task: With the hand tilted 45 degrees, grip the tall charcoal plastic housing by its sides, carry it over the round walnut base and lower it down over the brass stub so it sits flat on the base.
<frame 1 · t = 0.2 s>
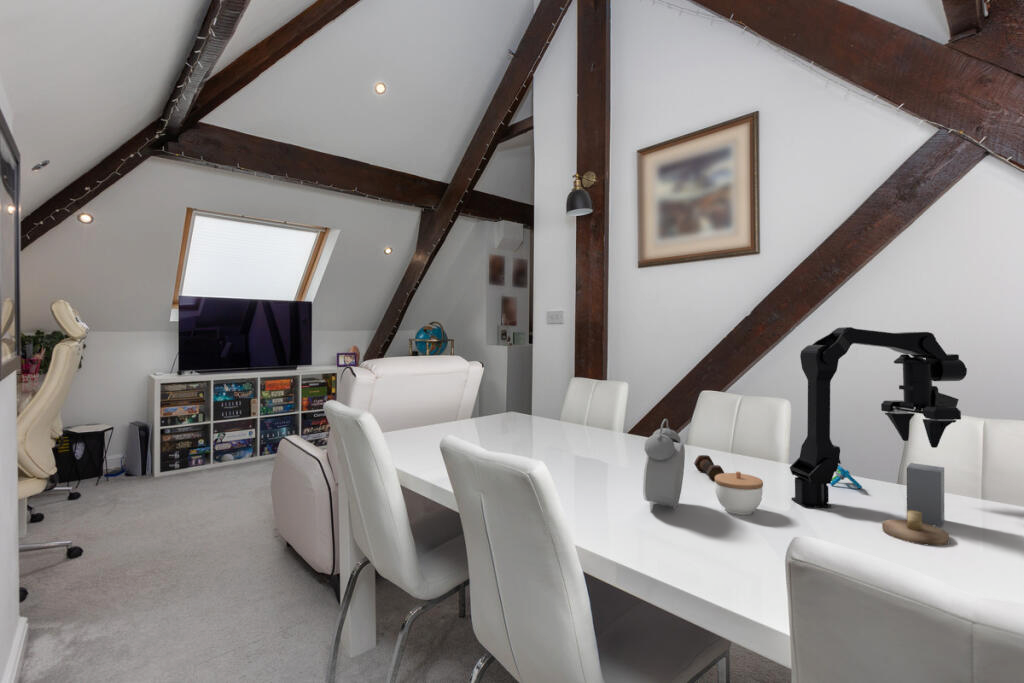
hand: (919, 444, 127), 15 cm above the table, tool pointing down, fingers open, 9 cm apart
blue thin-armed part: (844, 487, 141), on the table
lidded jar: (738, 511, 122), on the table
stub base: (914, 534, 107), on the table
housing: (925, 520, 115), on the table
alarm clock: (664, 508, 125), on the table
bolt: (711, 478, 151), on the table
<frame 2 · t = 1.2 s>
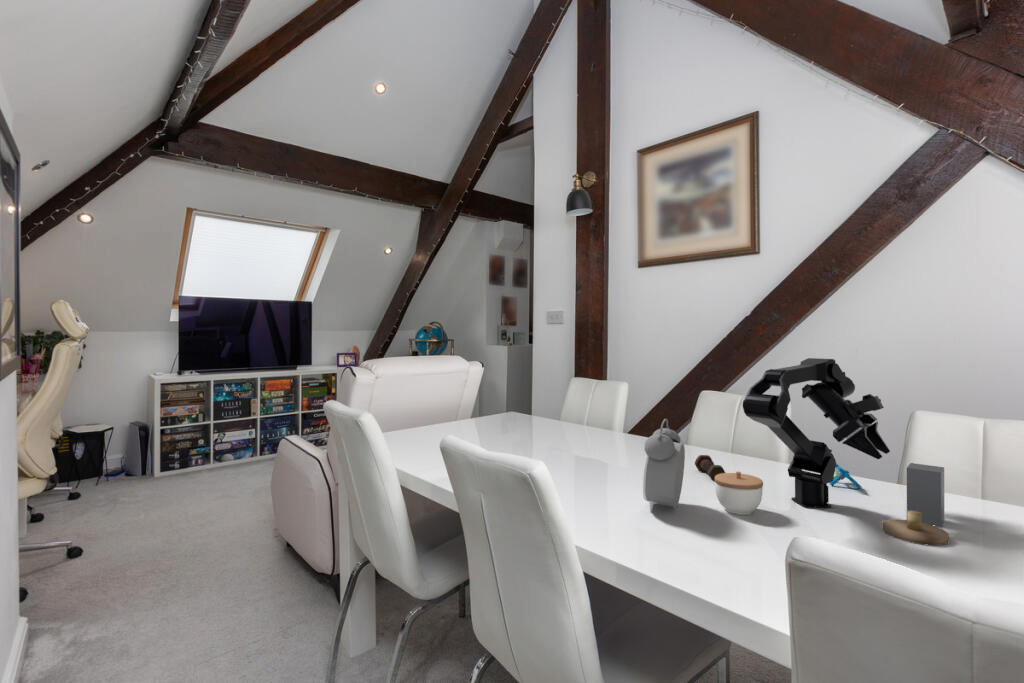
hand: (884, 455, 120), 14 cm above the table, tool tilted 45°, fingers open, 9 cm apart
nothing on the table moved.
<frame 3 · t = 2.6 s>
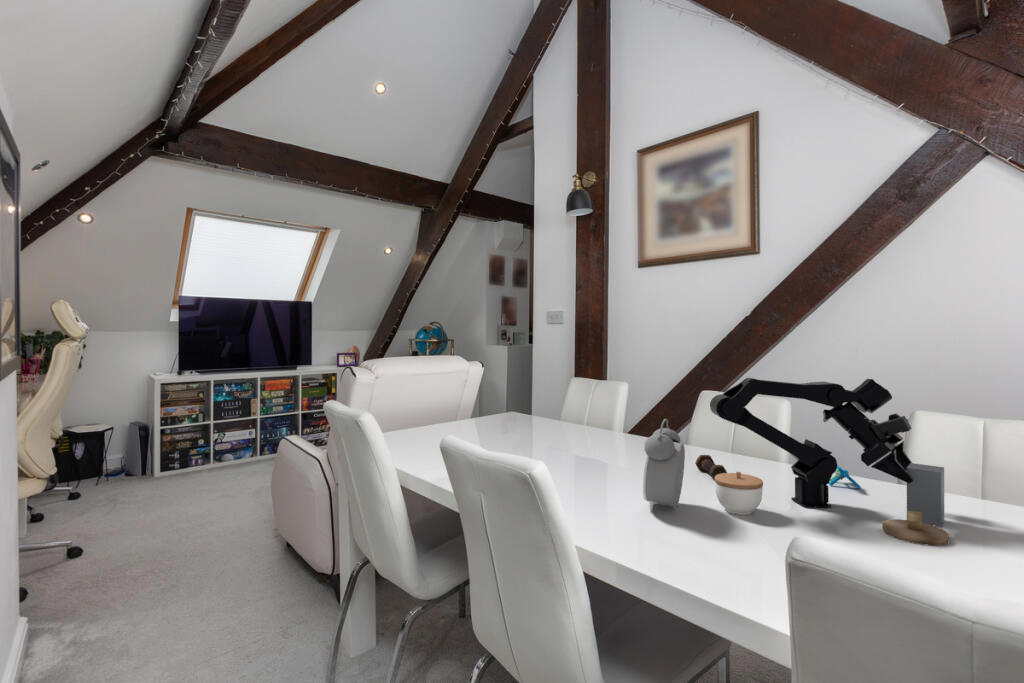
hand: (914, 477, 116), 9 cm above the table, tool tilted 45°, fingers open, 9 cm apart
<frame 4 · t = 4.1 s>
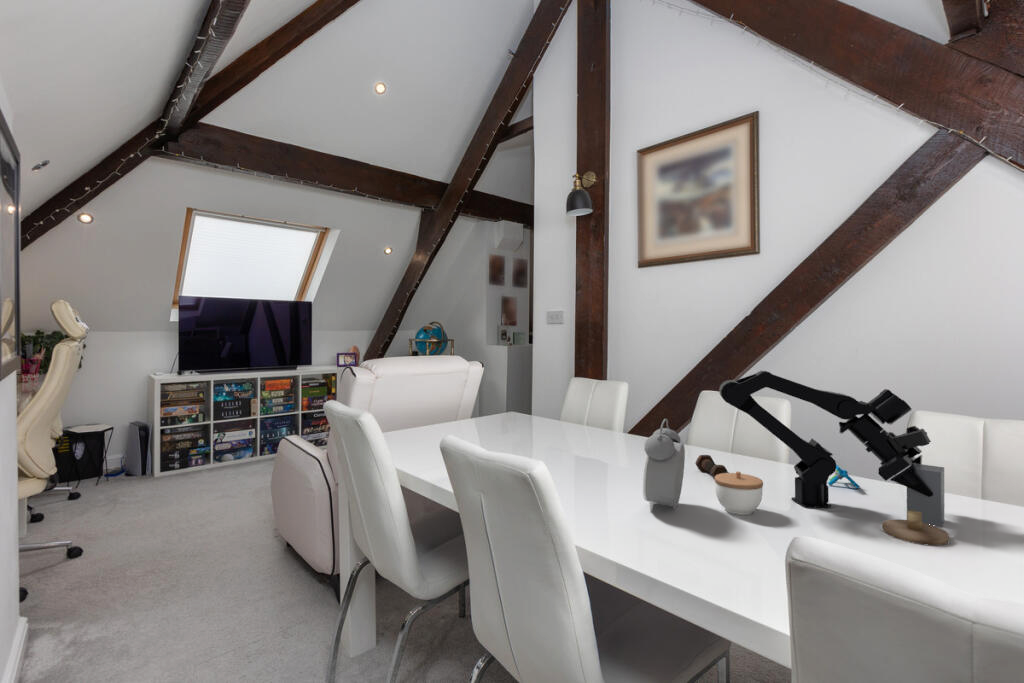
hand: (933, 492, 114), 7 cm above the table, tool tilted 45°, fingers closed on housing, 6 cm apart
housing: (925, 520, 115), on the table, touching gripper
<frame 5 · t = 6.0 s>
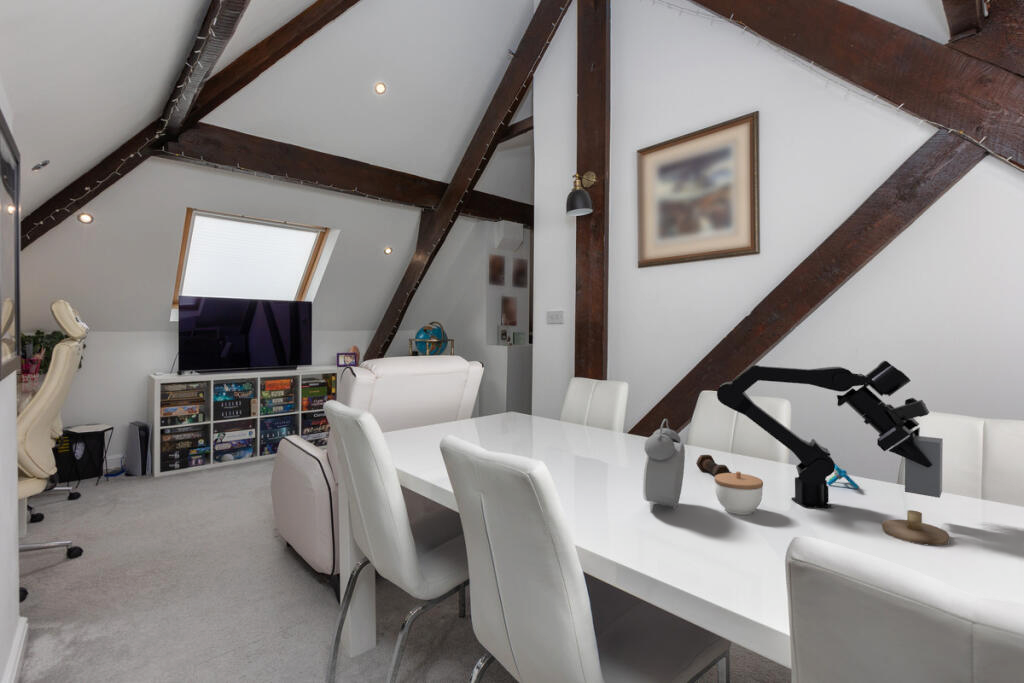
hand: (931, 463, 113), 13 cm above the table, tool tilted 45°, fingers closed on housing, 6 cm apart
housing: (923, 491, 114), point 7 cm above the table, touching gripper
when the fingers open (9 cm above the table, at t = 8.3 s): housing drops 1 cm, resting on stub base.
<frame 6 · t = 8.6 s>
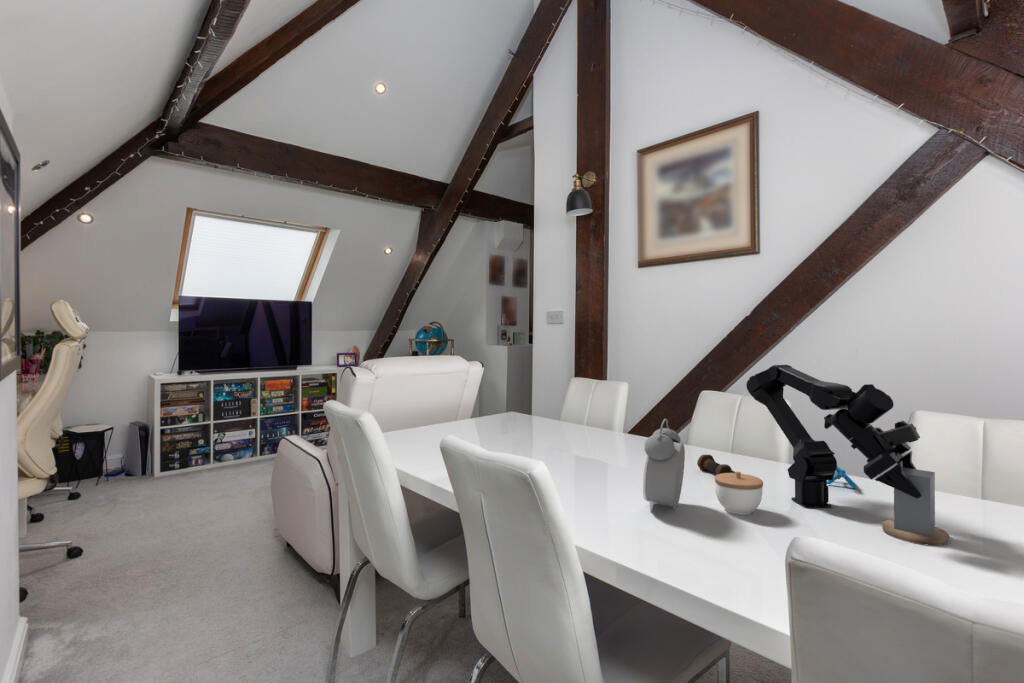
hand: (922, 492, 106), 9 cm above the table, tool tilted 45°, fingers open, 9 cm apart
housing: (914, 528, 107), point 1 cm above the table, touching stub base
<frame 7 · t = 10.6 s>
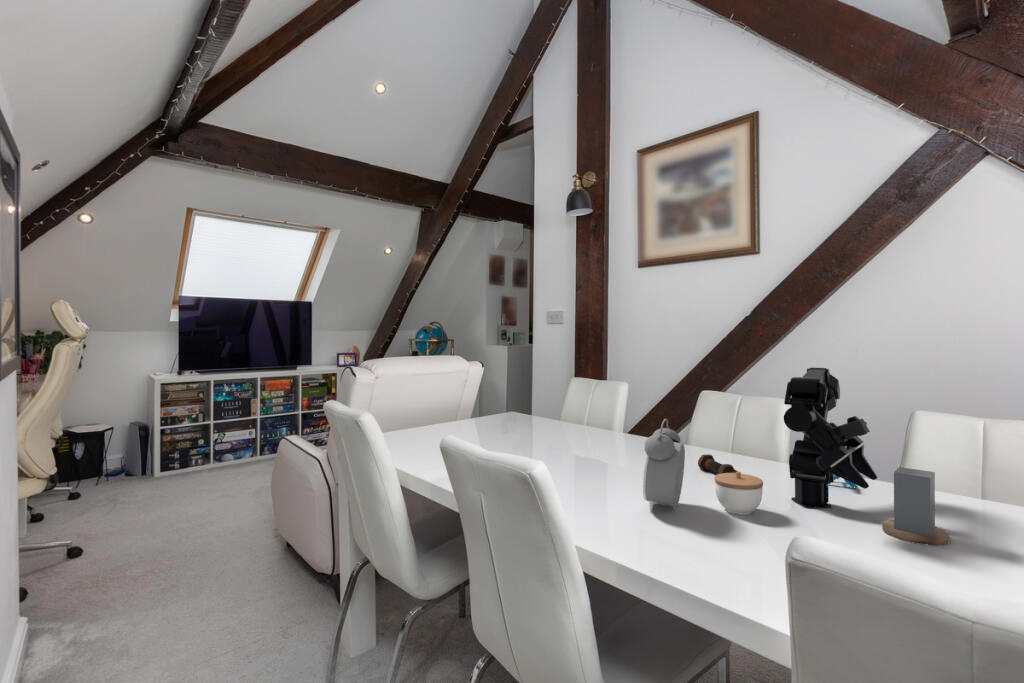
hand: (871, 483, 112), 9 cm above the table, tool tilted 45°, fingers open, 9 cm apart
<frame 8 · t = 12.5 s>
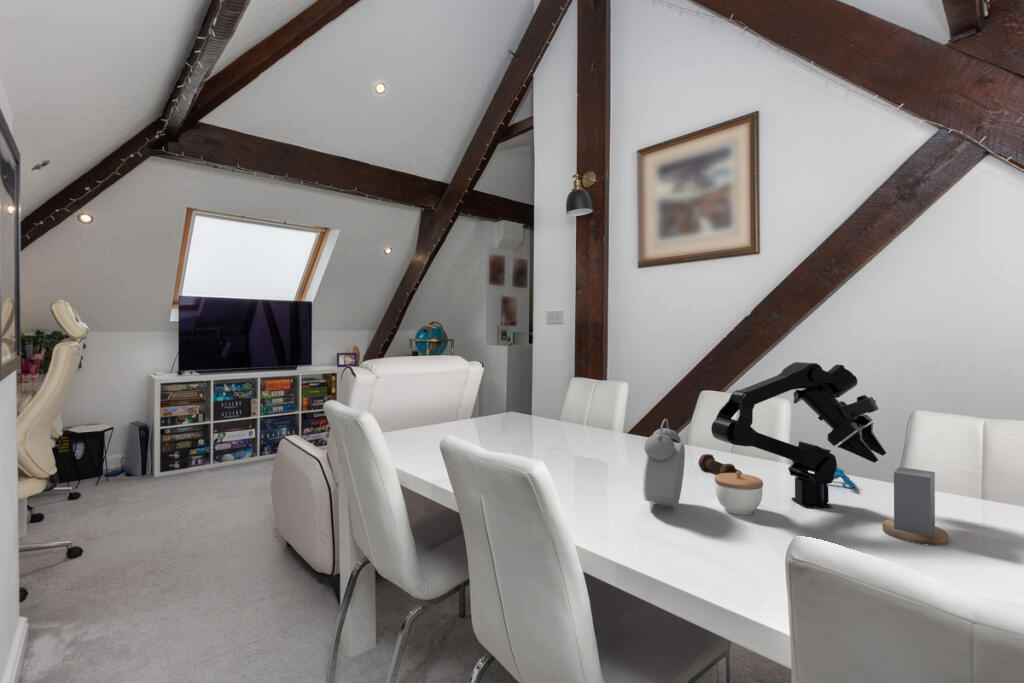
hand: (880, 457, 117), 14 cm above the table, tool tilted 45°, fingers open, 9 cm apart
at the end: housing 0.0 cm from the stub base (horizontally); housing point 1.2 cm above the table; housing tilted 0° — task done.
